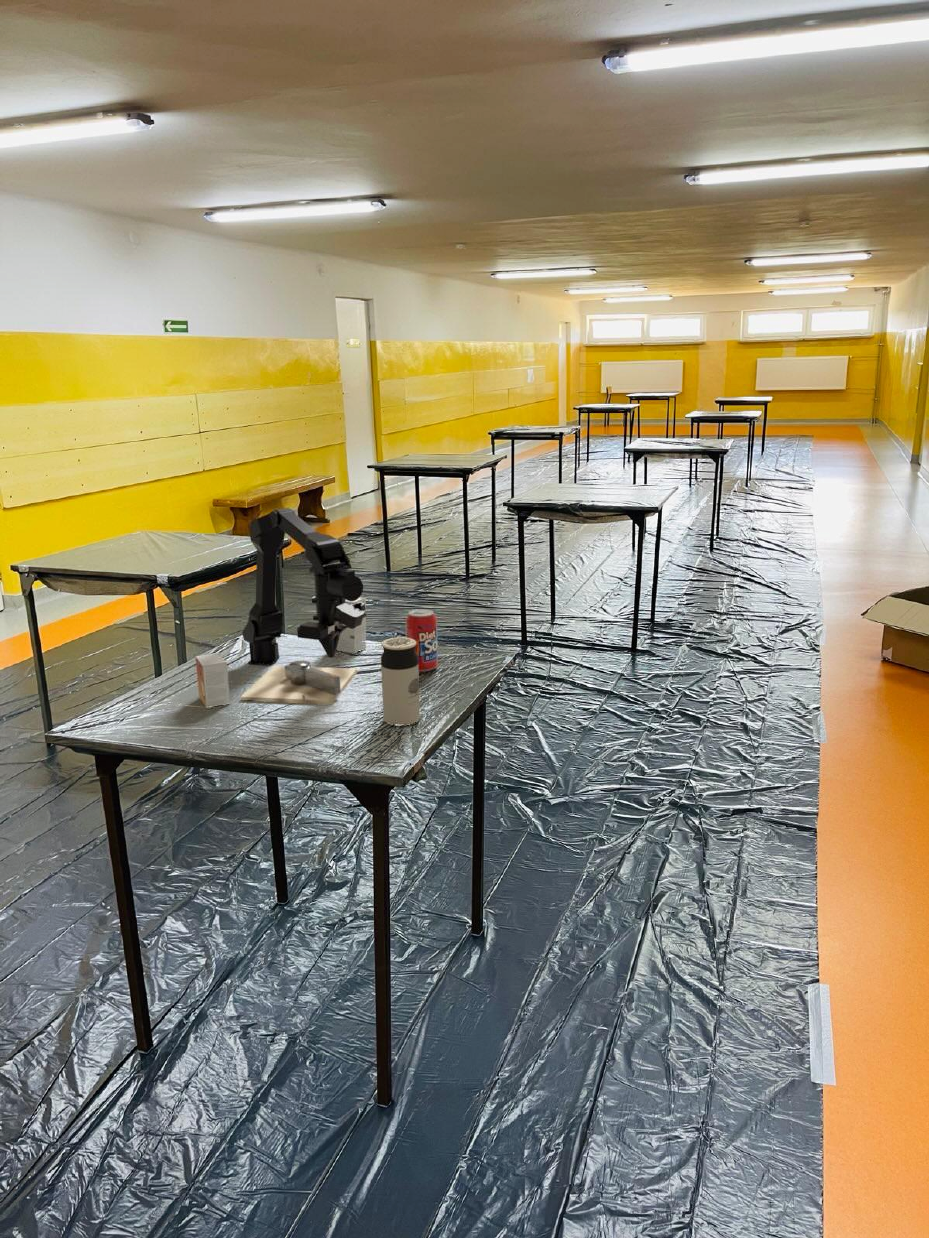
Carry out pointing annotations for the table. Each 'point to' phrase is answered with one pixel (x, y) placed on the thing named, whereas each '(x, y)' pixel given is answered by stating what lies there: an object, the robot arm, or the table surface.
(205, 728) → the table surface
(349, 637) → the skincare box
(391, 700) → the travel mug
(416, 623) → the soda can
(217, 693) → the small box
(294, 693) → the base plate
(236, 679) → the table surface
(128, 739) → the table surface
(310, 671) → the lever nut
